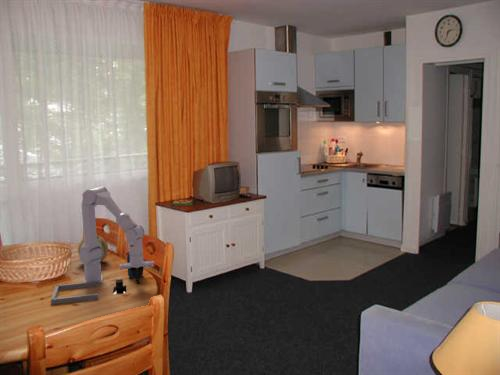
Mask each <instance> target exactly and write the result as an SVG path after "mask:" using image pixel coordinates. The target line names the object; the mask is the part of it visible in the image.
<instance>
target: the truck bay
mask: <svg viewBox="0 0 500 375" xmlns="http://www.w3.org/2000/svg"><path fill="white" fill-rule="evenodd" d="M100 284H101V283H100V281H92V282H84V281H82V282H75V283H73V282H72V283H65V284H64V283H63V284H56V285H55V287H54V290H53V293H52V295H51V299H50V303H51V305H59V304H67V303H69V304H70V303H76V302H85V301H94V300H95V301H96V300H99V293H92V294H91V293H90V294H84V295H83V294H82V295H74V296H64V297H63V296H62V297H58V295H59V292H60V291H63V290H72V289H74V290H75V289H83V288H92V287H93V288H94V287H100Z"/></svg>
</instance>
